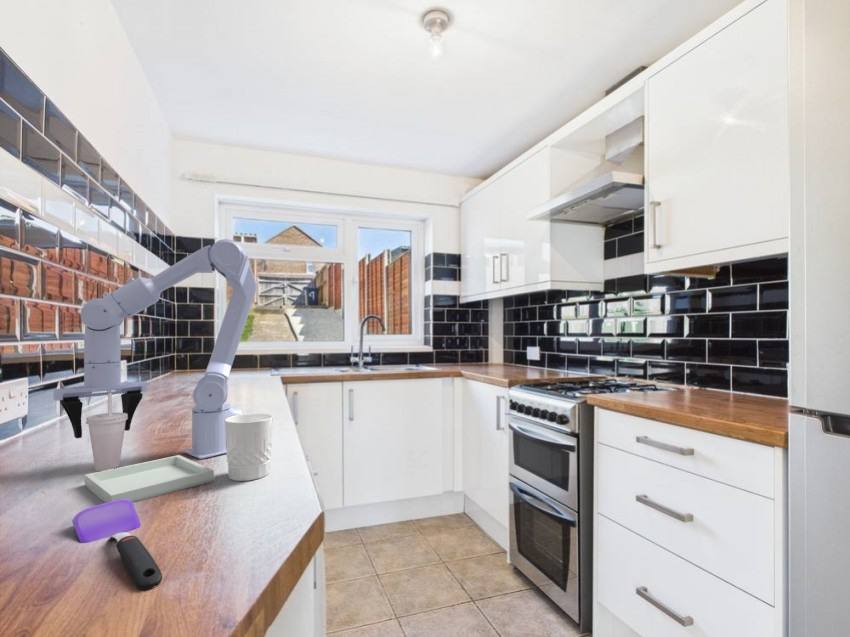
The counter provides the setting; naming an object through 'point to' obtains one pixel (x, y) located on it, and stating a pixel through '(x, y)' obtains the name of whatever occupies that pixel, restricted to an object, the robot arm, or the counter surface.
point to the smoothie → (107, 437)
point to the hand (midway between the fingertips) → (102, 433)
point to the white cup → (248, 446)
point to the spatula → (119, 538)
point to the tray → (148, 479)
